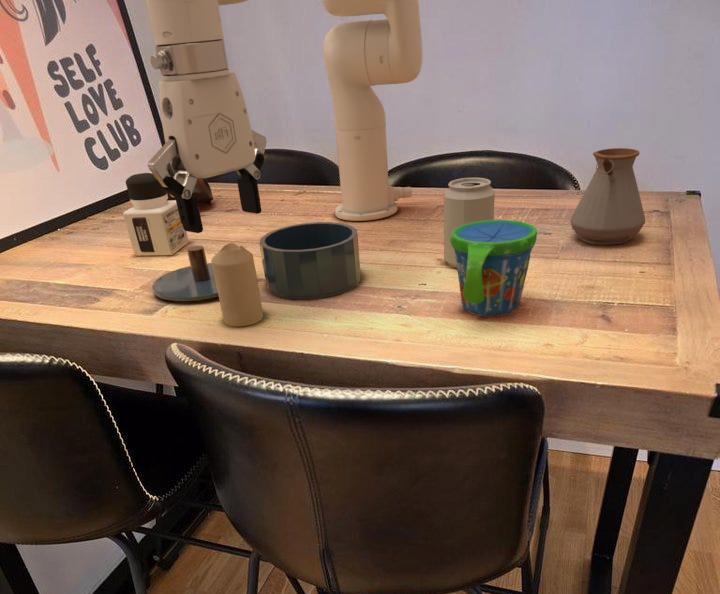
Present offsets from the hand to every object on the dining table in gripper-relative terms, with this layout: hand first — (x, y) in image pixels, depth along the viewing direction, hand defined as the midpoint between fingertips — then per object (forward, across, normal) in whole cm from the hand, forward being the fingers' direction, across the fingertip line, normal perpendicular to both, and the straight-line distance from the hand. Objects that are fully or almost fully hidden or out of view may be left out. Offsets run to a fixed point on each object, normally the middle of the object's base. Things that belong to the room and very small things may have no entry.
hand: (223, 221), depth 82 cm
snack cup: (+13, +20, -28) cm, 37 cm away
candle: (+13, 0, 0) cm, 13 cm away
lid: (+12, +6, +16) cm, 21 cm away
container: (+13, +15, +40) cm, 45 cm away
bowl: (+13, +16, +1) cm, 21 cm away
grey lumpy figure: (+13, +38, +63) cm, 74 cm away
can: (+13, +34, -15) cm, 40 cm away
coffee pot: (+13, +50, -30) cm, 60 cm away
